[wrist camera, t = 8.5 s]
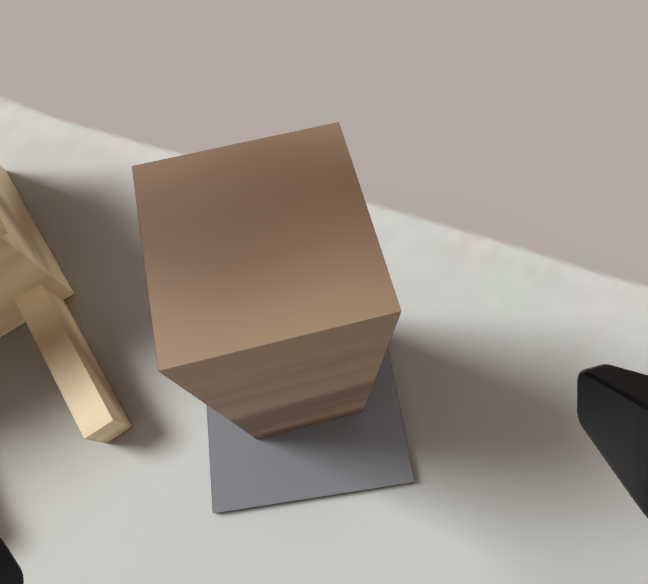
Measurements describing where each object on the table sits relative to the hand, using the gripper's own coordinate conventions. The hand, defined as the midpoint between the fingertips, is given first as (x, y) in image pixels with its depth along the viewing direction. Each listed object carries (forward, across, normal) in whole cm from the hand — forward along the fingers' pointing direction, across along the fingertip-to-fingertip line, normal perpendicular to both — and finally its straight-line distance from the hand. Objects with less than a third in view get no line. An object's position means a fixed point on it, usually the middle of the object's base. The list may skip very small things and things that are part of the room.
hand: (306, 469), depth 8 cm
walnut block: (+12, 0, +6) cm, 14 cm away
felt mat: (+13, 0, +6) cm, 14 cm away
